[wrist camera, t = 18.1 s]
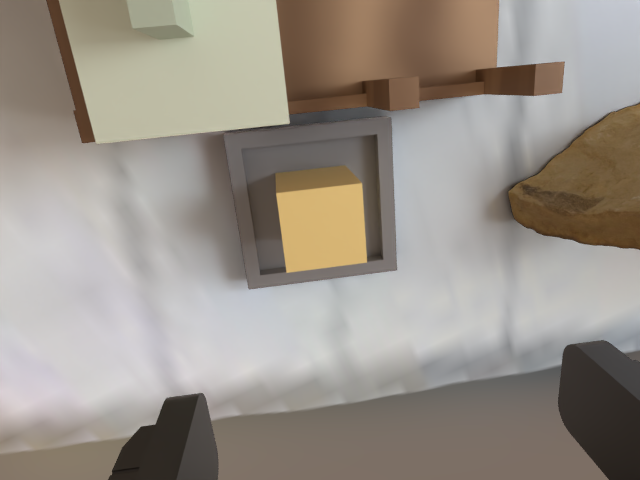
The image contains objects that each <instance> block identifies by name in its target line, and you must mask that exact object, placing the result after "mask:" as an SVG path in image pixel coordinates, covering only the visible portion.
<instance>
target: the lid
mask: <svg viewBox="0 0 640 480" xmlns="http://www.w3.org/2000/svg"><path fill="white" fill-rule="evenodd" d="M59 3H60V7H61V11H62V15H63V19H64V23H65V26H66V30H67V34H68V38H69V42H70V45H71V49H72V53H73V57H74V61H75V65H76V68H77V72H78V76H79V80H80V84H81V88H82V91H83V95H84V99H85V103H86V107H87V110H88V114H89V118H90V122H91V126H92V130H93V133H94V137H95V141H96V144H102V143H111V142H121V141H130V140H140V139H149V138H159V137H168V136H178V135H187V134H197V133H206V132H216V131H225V130H235V129H244V128H254V127H263V126H273V125H282V124H290V120H289V111H288V103H287V94H286V85H285V76H284V67H283V58H282V50H281V41H280V32H279V23H278V14H277V5H276V0H59Z"/></svg>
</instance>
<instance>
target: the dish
mask: <svg viewBox="0 0 640 480" xmlns="http://www.w3.org/2000/svg"><path fill="white" fill-rule="evenodd" d="M223 136H224V142H225V148H226V154H227V161H228V167H229V173H230V179H231V185H232V191H233V197H234V203H235V209H236V215H237V221H238V227H239V234H240V240H241V246H242V252H243V258H244V264H245V270H246V276H247V282H248V288H249V289H256V288H263V287H271V286H279V285H287V284H294V283H302V282H310V281H318V280H325V279H333V278H341V277H349V276H356V275H364V274H372V273H379V272H387V271H395V270H397V259H396V232H395V206H394V179H393V153H392V126H391V117H387V116H380V117H370V118H361V119H351V120H342V121H332V122H323V123H314V124H304V125H295V126H285V127H276V128H266V129H257V130H247V131H238V132H228V133H225V134H224V135H223ZM343 165H345V166H346V167H347V168H348V169H349V170H350V171H351V172H352V173H353V174H354V175H355V176H356V177H357V178H358V179H359V180H360V182H361V183H362V189H363V205H364V221H365V237H366V253H367V263H360V264H352V265H344V266H337V267H329V268H321V269H313V270H305V271H297V272H290V273H287V272H286V265H285V257H284V249H283V242H282V234H281V227H280V219H279V211H278V204H277V196H276V177H275V173H281V172H290V171H299V170H308V169H317V168H326V167H334V166H343Z"/></svg>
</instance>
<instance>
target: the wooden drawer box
mask: <svg viewBox="0 0 640 480" xmlns="http://www.w3.org/2000/svg"><path fill="white" fill-rule="evenodd" d="M46 1H47V5H48V8H49V12H50V16H51V19H52V23H53V27H54V30H55V34H56V38H57V42H58V45H59V49H60V53H61V56H62V60H63V64H64V67H65V71H66V75H67V79H68V82H69V86H70V90H71V93H72V97H73V101H74V105H75V108H76V110H75V111H74V115H75V119H76V122H77V126H78V130H79V133H80V137H81V141H82V143H89V142H96V141H95V137H94V133H93V130H92V126H91V122H90V118H89V114H88V110H87V107H86V103H85V99H84V95H83V91H82V88H81V84H80V80H79V76H78V72H77V68H76V65H75V61H74V57H73V53H72V49H71V45H70V42H69V38H68V34H67V30H66V26H65V23H64V19H63V15H62V11H61V7H60V3H59V0H46ZM276 5H277V14H278V23H279V32H280V41H281V50H282V58H283V67H284V76H285V85H286V94H287V103H288V111H289V114H298V113H308V112H318V111H327V110H337V109H347V108H356V107H366V106H368V107H373V108H378V109H383V110H388V111H394V110H404V109H413V108H419V101H424V100H433V99H443V98H452V97H462V96H472V95H481V94H492V95H523V96H537V95H547V94H556V93H562V86H563V75H564V63H565V62H554V63H542V64H531V65H520V66H508V67H497V68H496V66H497V41H498V15H499V0H276Z"/></svg>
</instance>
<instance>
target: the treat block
mask: <svg viewBox="0 0 640 480" xmlns="http://www.w3.org/2000/svg"><path fill="white" fill-rule="evenodd" d="M275 177H276V196H277V204H278V211H279V219H280V227H281V234H282V242H283V249H284V257H285V265H286V272H287V273H290V272H297V271H305V270H313V269H321V268H329V267H337V266H344V265H352V264H360V263H367V253H366V237H365V221H364V205H363V189H362V183H361V182H360V180H359V179H358V178H357V177H356V176H355V175H354V174H353V173H352V172H351V171H350V170H349V169H348V168H347V167H346V166H345V165H343V166H334V167H326V168H317V169H308V170H299V171H290V172H281V173H275Z"/></svg>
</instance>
